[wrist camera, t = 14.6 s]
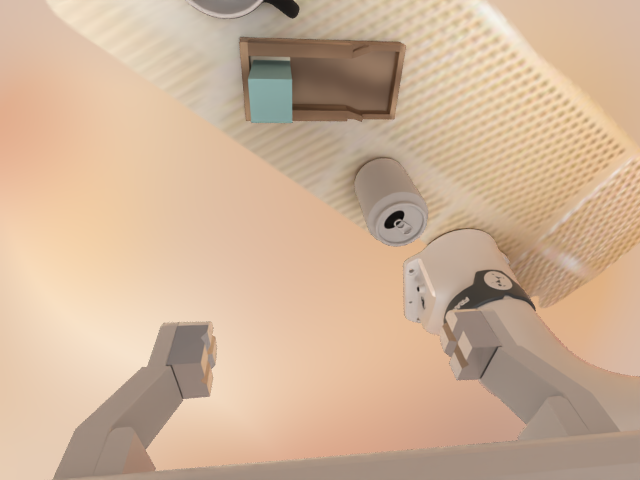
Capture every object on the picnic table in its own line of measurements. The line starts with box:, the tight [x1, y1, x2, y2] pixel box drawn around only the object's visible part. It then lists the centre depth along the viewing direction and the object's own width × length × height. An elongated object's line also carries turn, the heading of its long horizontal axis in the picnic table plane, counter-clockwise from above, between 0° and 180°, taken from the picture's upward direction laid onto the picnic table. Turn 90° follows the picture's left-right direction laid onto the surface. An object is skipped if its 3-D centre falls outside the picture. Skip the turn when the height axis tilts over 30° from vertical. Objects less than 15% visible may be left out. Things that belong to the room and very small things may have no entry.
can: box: [354, 158, 428, 246], centre depth 46 cm, size 8×8×12 cm
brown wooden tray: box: [239, 37, 406, 122], centre depth 41 cm, size 8×18×4 cm, turn 88°
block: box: [248, 60, 292, 123], centre depth 37 cm, size 4×4×9 cm
